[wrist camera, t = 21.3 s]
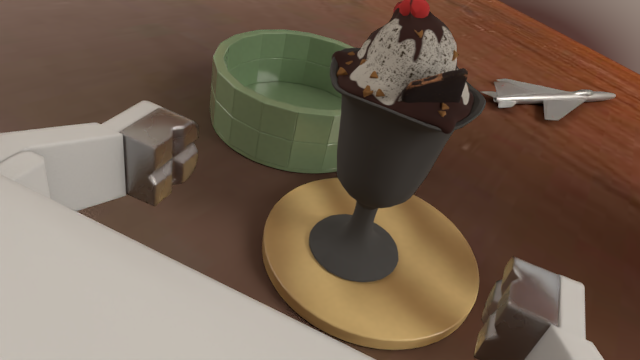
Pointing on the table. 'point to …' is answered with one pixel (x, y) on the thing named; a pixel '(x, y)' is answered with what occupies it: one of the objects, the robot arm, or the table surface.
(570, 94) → the toy airplane
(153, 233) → the table surface
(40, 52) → the table surface
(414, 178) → the sundae
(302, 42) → the green shallow round dish
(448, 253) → the trivet
